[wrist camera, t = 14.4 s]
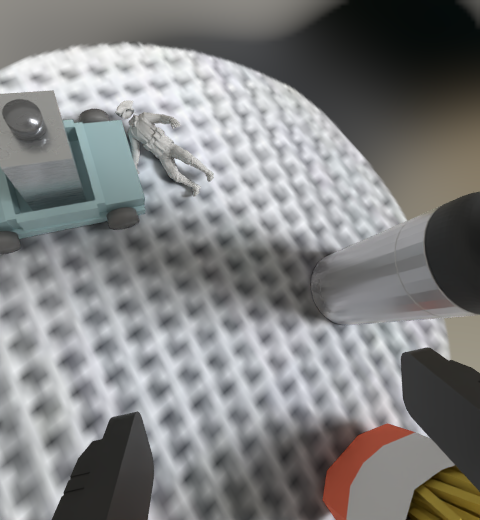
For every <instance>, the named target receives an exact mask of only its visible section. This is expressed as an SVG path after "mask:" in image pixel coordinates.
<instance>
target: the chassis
mask: <svg viewBox="0 0 480 520" xmlns="http://www.w3.org/2000/svg"><path fill="white" fill-rule="evenodd" d="M79 121H80V122H78V123H74V121H73V119H72V120H63V123H64V126H65V129H66V132H67V136H68V139H69V142H70V145H71V149H72V152H73V155H74V159H75V162H76V166H77V170H78V173H79V177H80V180H81V184H82V187H83V191H84V194H85V198H86V201H87V202H83V203H77V204H71V205H66V206H60V207H54V208H49V209H43V210H37V211H33V210H32V209H31V207H30V206H29V205H28V203H27V202H26V201H25V199H24V198H23V197H22V196H21V194H20V193H19V192H18V190H17V189H16V188H15V186H14V185H13V184H12V182H11V181H10V180H9V178H8V177H7V176H6V174H5V173H4V172H3V170H2V169H1V167H0V255H1V254H7V253H11V252H14V251H17V250H19V249H20V248H21V245H20V241H19V239H21V238H26V237H31V236H36V235H41V234H46V233H51V232H56V231H61V230H66V229H71V228H76V227H81V226H86V225H90V224H95V223H100V222H105V221H108V224H109V227H110V228H111V229H125V228H129V227H132V226H134V225H136V224H137V223H138V222H139V218H138V215H140V214H145V207H144V201H145V197H144V194H143V190H142V187H141V184H140V180H139V177H138V174H137V171H136V167H135V164H134V161H133V157H132V154H131V151H130V147H129V144H128V141H127V137H126V134H125V131H124V128H123V124H122V121H121V120H115V121H109V118H108V115H107V113H106V112H104V111H102V110H99V109H89V110H86V111H84V112H82V113H81V114H80V116H79Z"/></svg>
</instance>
